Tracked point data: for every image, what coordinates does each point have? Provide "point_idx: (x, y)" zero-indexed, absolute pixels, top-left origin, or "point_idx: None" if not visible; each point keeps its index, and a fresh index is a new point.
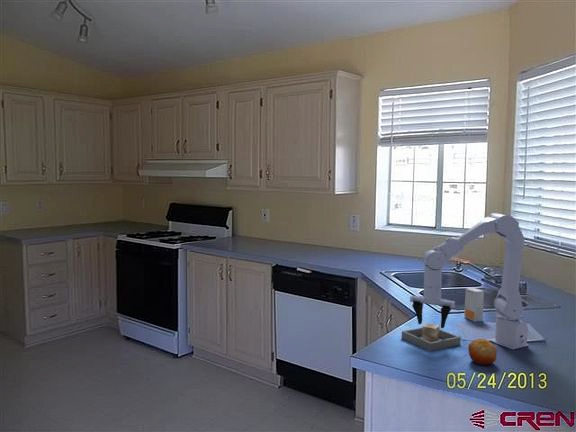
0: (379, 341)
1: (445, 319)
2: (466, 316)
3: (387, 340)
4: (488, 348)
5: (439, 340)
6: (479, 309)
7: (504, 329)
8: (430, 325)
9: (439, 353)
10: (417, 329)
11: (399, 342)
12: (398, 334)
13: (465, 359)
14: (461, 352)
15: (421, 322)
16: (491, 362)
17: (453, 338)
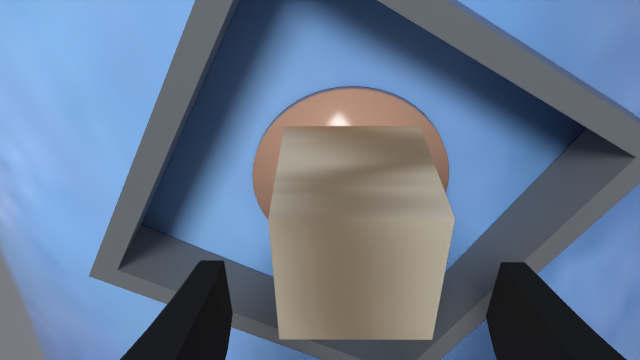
0: (45, 344)
1: (584, 345)
2: None
3: (69, 310)
4: None
5: (429, 150)
6: None
7: None
8: (348, 279)
9: (459, 345)
10: (171, 144)
11: (156, 305)
12: (29, 156)
13: (625, 354)
14: (613, 272)
15: (223, 281)
16: None
17: (589, 225)
